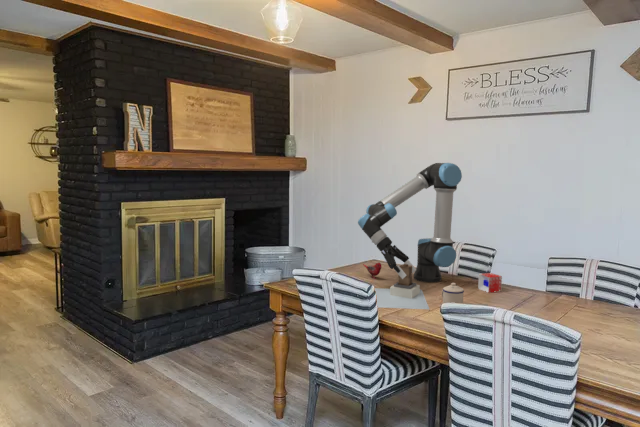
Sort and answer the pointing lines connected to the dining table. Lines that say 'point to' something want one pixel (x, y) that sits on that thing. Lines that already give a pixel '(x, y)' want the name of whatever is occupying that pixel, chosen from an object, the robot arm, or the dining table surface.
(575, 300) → the dining table surface
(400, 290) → the base brick
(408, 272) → the walnut pillar
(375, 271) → the decorative bird figurine
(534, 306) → the dining table surface
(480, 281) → the puzzle cube
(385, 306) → the mat
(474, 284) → the dining table surface
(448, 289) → the teacup with lid
